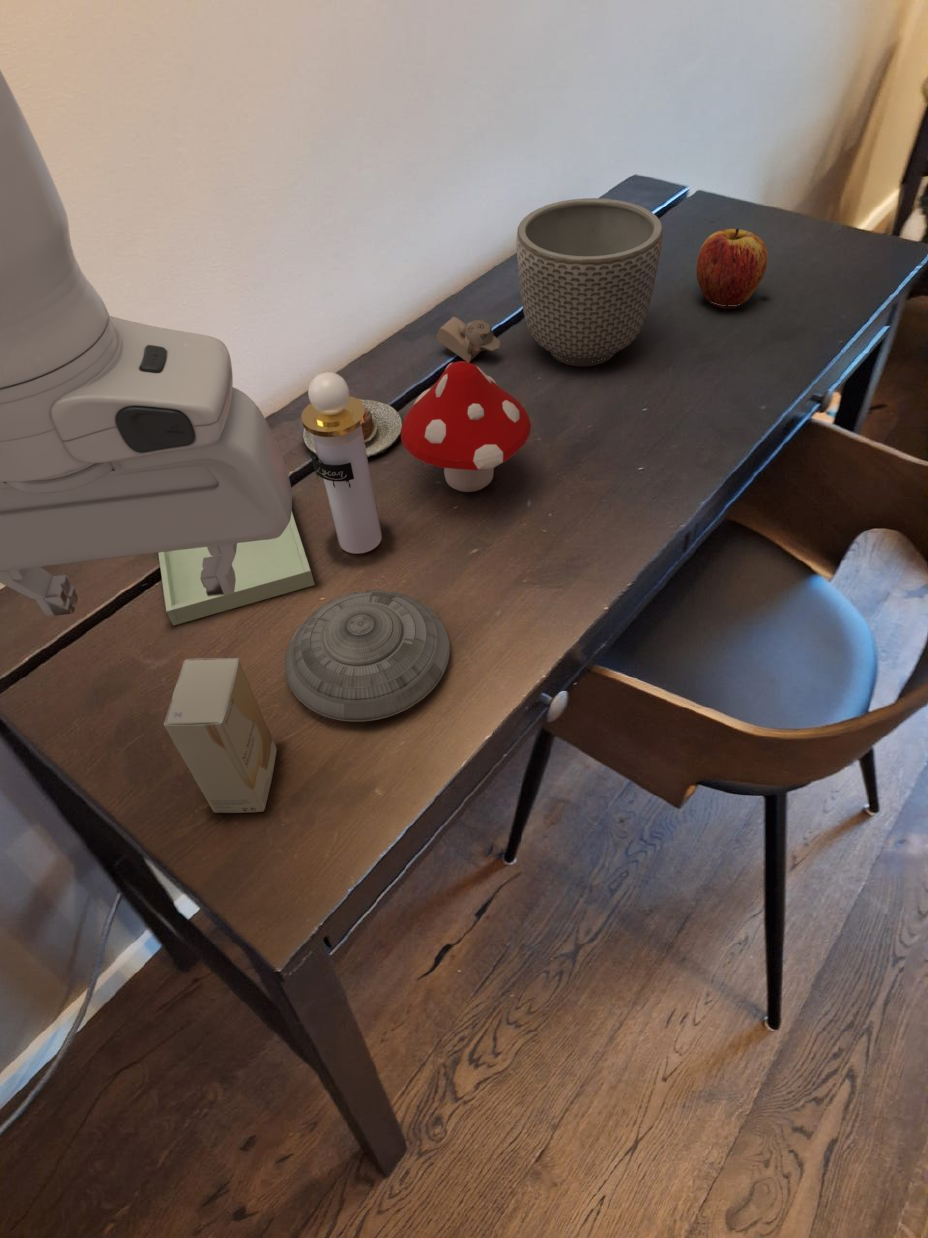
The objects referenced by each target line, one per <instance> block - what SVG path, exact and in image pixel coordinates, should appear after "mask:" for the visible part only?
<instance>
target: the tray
mask: <svg viewBox="0 0 928 1238" xmlns="http://www.w3.org/2000/svg"><path fill="white" fill-rule="evenodd" d="M157 554H158V561H159V568H160V576H161V583H162V589H163V590H162V591H163V598H164V605H165V612H166V614H167V616H168V619H169V620H170V622H171V624H172V626H177V625H181V624H184V623H188V622H191V621H195V620H198V619H201V618H204V617H208V616H211V615H215V614H218V613H223V612H226V611H230V610H233V609H237V608H240V607H243V606H247V605H250V604H254V603H257V602H260V601H261V602H262V601H264V600H268V599H271V598H275V597H279V596H281V595H285V594H288V593H293V592H295V591H299V590H302V589H306V588H309V587H314V586H315V584H316V583H315V581H314V577H313V574H312V570H311V567H310V564H309V561H308V558H307V555H306V554H307V553H306V550H305V548H304V545H303V542H302V539H301V535H300V532H299V529H298V526H297V523H296V520H295V516H294V514H293V511H291V519H290V522H289V524H288V525H287V527H286V529H285V530H284V532H283V533H282V534H281V536H279V537H278V538H275V539H269V540H259V541H251V542H242V543H237V548H236V555H235V557H234V560H233V563H232V567H233V569H234V572H235V578H236V581H235V590H234V593H233V594H227V595H219V596H208V595H207V593H206V588H205V587H203V584H202V582H201V579H200V578H201V571H202V570H203V566H202V564H203V558H206V557H213V556H211V555H210V553H209V550H208V548H207V547H201V548H193V549H184V550H176V551H168V552H160V553H157Z"/></svg>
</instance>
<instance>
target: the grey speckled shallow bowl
mask: <svg viewBox="0 0 928 1238" xmlns="http://www.w3.org/2000/svg"><path fill="white" fill-rule="evenodd" d="M357 399H358V400H360V401H361V402H362V403H363V405H364V407H365V412H366V417H365V420H364V422H363V423H362V424H361V427H362V432H363V438H364V443H365V448H366V454H367V458H370V457H371V456H373V457H376V456H378V455H379V454H383V453H385V452H386V451H387V450H388V448H389V447H391V446H393V444H395V443H397V440H398V438H399V436H401V428H402V425H403V420H402V417H401V415H400V413H399V412H398V411H397V410H396V409H395V408H394V407H392V406H391V405H389V404H387V403H384V402H380V401H378V400H373V399H360V398H357ZM302 436H303V437H302V438H303V440H304V444H305V445H306V447H307V448H308V449H309V451H310V452H312V454H313V455H315V456H316V455H317V451H316V447H315V443H314V439H313V434H311V433H309V432H308V431H307V430H306V429H305V428H304V427H303V433H302ZM309 447H310V448H309ZM314 452H315V453H314Z"/></svg>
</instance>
